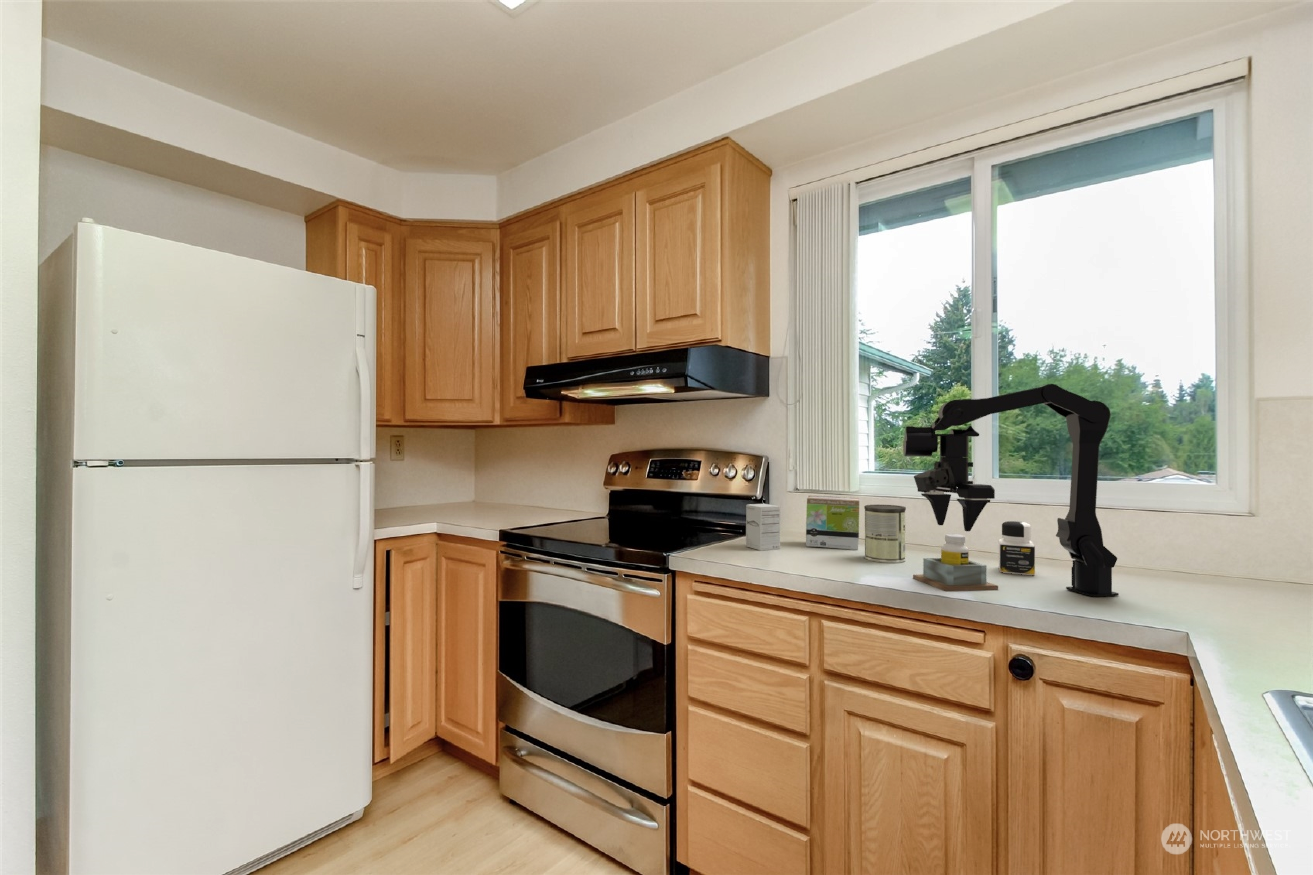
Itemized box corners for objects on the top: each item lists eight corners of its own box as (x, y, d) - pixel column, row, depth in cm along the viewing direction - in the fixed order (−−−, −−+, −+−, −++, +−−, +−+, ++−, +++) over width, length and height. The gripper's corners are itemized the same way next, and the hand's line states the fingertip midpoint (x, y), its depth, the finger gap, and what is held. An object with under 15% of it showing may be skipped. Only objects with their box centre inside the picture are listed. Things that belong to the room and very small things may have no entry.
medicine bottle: (999, 572, 142) (999, 522, 143) (998, 567, 149) (998, 519, 149) (1035, 576, 139) (1035, 524, 139) (1032, 570, 145) (1032, 521, 146)
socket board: (998, 589, 126) (998, 566, 126) (946, 591, 124) (946, 568, 124) (961, 576, 137) (961, 556, 137) (913, 578, 136) (913, 557, 136)
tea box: (805, 547, 176) (805, 497, 176) (807, 542, 185) (807, 494, 185) (859, 550, 171) (859, 499, 171) (858, 545, 181) (858, 496, 181)
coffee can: (860, 555, 164) (860, 504, 164) (898, 556, 163) (898, 504, 163) (869, 562, 154) (870, 508, 154) (911, 563, 153) (911, 508, 153)
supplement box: (745, 546, 176) (745, 504, 176) (765, 545, 179) (766, 503, 179) (759, 551, 169) (759, 506, 169) (780, 549, 172) (781, 505, 172)
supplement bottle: (963, 584, 127) (964, 538, 127) (937, 579, 130) (937, 535, 131) (971, 580, 131) (972, 535, 131) (945, 576, 134) (945, 532, 134)
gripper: (896, 455, 139) (896, 522, 139) (947, 458, 121) (946, 535, 120) (940, 456, 141) (940, 522, 140) (996, 458, 122) (996, 534, 122)
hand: (953, 528), depth 131 cm, fingers open, 9 cm apart
